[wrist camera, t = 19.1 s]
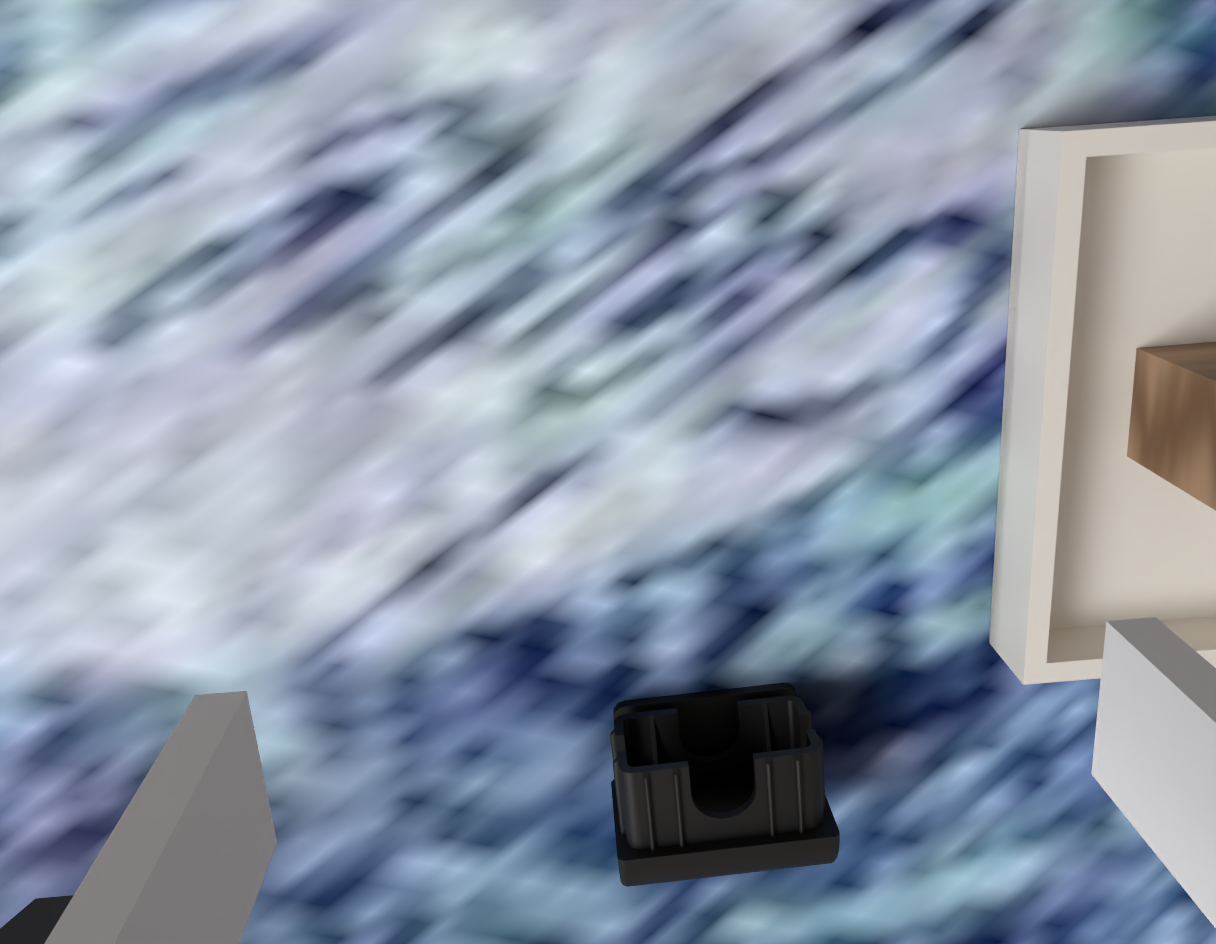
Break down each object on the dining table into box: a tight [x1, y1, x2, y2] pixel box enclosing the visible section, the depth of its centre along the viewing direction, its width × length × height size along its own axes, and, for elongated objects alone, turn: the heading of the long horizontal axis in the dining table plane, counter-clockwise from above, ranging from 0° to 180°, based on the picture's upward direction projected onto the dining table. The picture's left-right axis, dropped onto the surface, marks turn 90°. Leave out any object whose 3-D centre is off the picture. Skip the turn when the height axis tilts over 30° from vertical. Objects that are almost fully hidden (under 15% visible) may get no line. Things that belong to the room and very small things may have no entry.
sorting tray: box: [989, 116, 1216, 685], centre depth 47 cm, size 24×16×4 cm, turn 4°
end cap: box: [610, 683, 840, 886], centre depth 51 cm, size 10×7×7 cm
